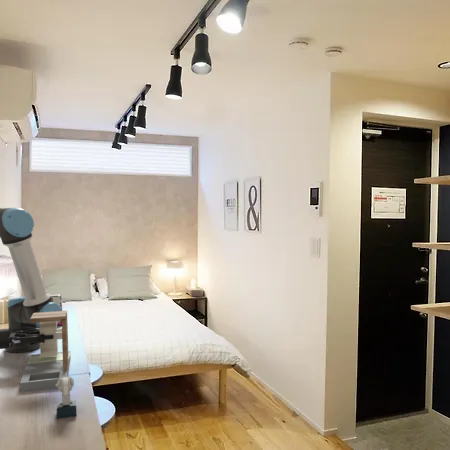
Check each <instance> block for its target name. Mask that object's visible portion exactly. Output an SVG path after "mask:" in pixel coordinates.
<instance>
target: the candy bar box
mask: <svg viewBox="0 0 450 450" xmlns="http://www.w3.org/2000/svg"><path fill="white" fill-rule="evenodd" d="M51 297H52V300H53V302H55V303H57V304H58V305H59V306H60V308H61V311H63V297H62V294H61V293H60V294H58V293H57V294H51ZM61 325H62V320H61V321H59V322H58V323H57V327H60V326H61ZM61 327H62V326H61Z"/></svg>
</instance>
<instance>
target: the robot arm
mask: <svg viewBox="0 0 450 450" xmlns="http://www.w3.org/2000/svg"><path fill="white" fill-rule="evenodd" d="M34 226H35V222H34V218H33V216H32V215H31V214H30V212H28V210H26V209H23V208H20V207H5V208H4V207H2V208H1V207H0V239H1V242H2V245H3V246H6V247H7V248H8V251H9V254H10V257H11V260H12V263H13V267H14V269H15V272H16V275H17V278H18V281H19V284H20V287H21V290H22V292H23V296H19V297H14V298H10V299H9V300H8V301H7V307H6V308H7V319H8V320H7V321H8V322H7V323H8V324H7V325H8V328H1V329H0V350H4V351H5V350H6V351H5V352H7V351H8V352H7V353H12V352H18V353H26V352H27V353H28V352H31V350H32V351H35V350H37V349H40V343H41V342H42V343H45V341H47V340H57V341H58V340H62V327H60V328H57V332H54V333H45V335H44V334H40V323H39V322H36V323H30V318H31V317H32V315H33V313H40V312H53V311H61V308H60V306H59V305H58V304H57V303H55V302H53V300H52V297H51V295H52V294H51V293H49V292H47V291H46V287H45V285H44V282H43V277H42V275H41V272H40V269H39V266H38V263H37V260H36V256H35V254H34V253H35V252H34V251H33V247H32V243H31V239H32V237H33V234H32V232H33V229H34ZM58 322H59V321H57V323H58Z"/></svg>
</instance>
